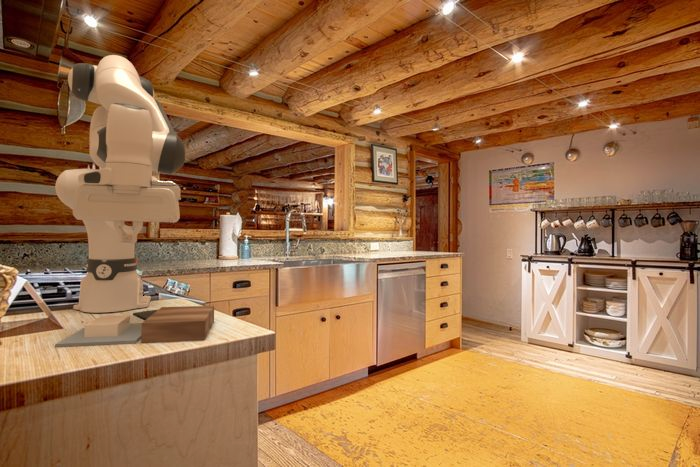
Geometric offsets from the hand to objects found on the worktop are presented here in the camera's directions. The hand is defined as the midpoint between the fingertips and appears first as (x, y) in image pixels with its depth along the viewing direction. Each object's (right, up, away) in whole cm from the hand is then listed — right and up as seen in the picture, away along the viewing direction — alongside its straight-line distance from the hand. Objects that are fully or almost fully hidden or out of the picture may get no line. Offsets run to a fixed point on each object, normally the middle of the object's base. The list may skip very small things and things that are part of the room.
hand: (128, 242), depth 82 cm
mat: (-3, -20, -1) cm, 20 cm away
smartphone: (-2, -20, +16) cm, 26 cm away
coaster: (-4, -18, -1) cm, 18 cm away
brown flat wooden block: (+11, -20, +2) cm, 23 cm away
